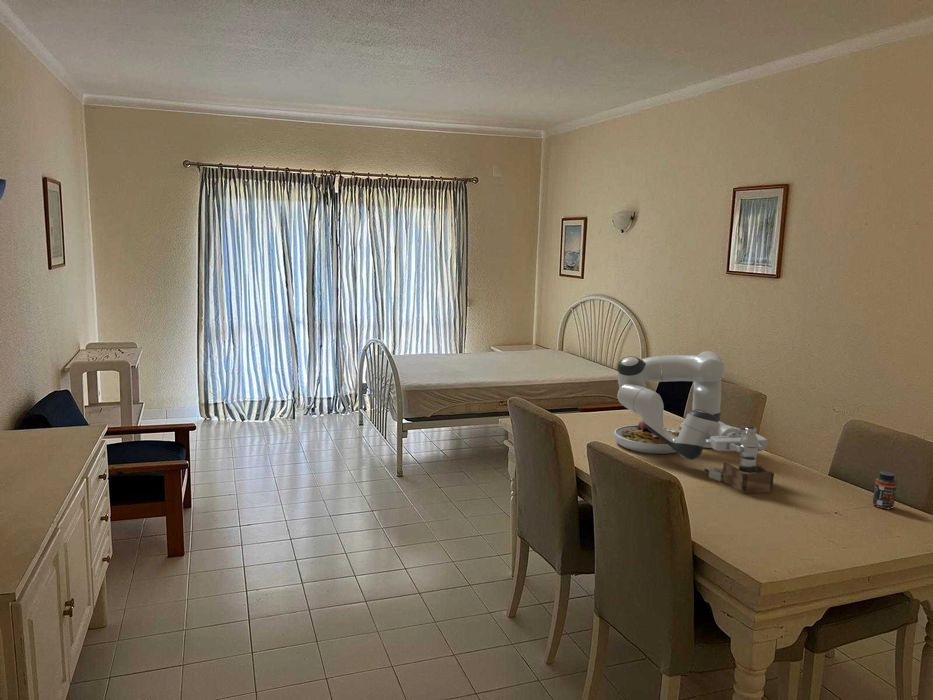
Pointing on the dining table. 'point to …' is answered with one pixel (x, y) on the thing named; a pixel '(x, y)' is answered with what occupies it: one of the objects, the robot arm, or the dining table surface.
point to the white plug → (715, 474)
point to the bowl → (643, 439)
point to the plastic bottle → (749, 451)
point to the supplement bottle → (885, 490)
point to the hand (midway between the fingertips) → (751, 449)
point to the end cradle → (748, 479)
